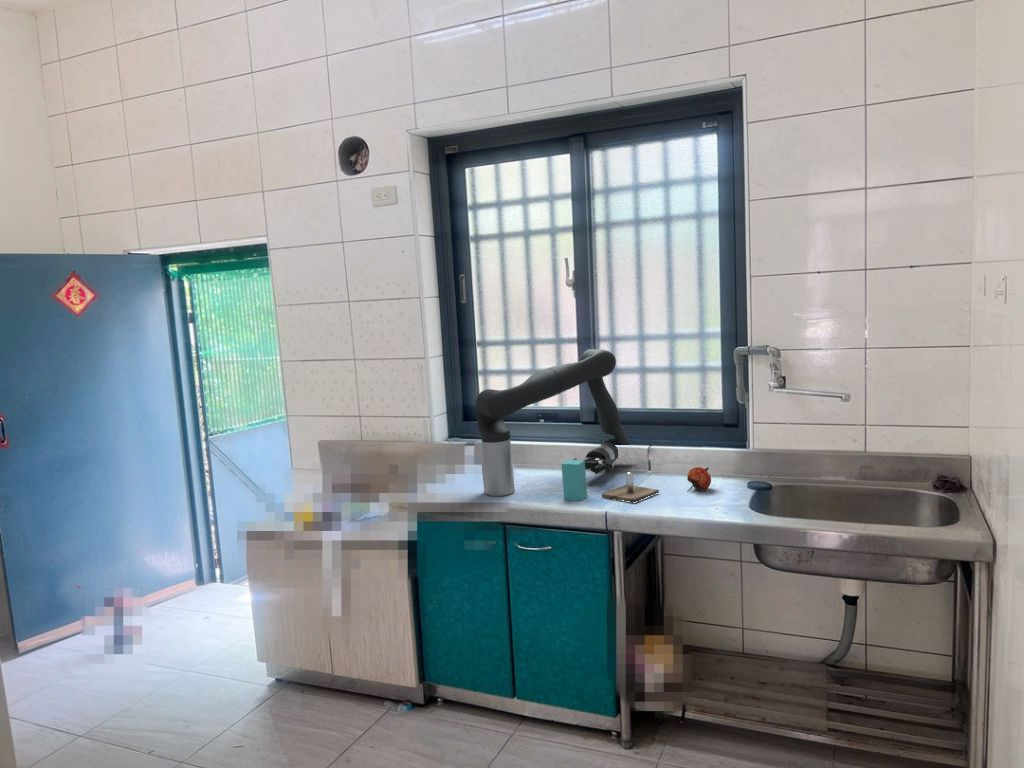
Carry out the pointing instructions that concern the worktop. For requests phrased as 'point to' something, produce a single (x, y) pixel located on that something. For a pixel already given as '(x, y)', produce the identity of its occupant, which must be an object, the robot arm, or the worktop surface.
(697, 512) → the worktop surface
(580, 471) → the block
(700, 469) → the pomegranate
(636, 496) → the base plate
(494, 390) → the robot arm
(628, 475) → the post
